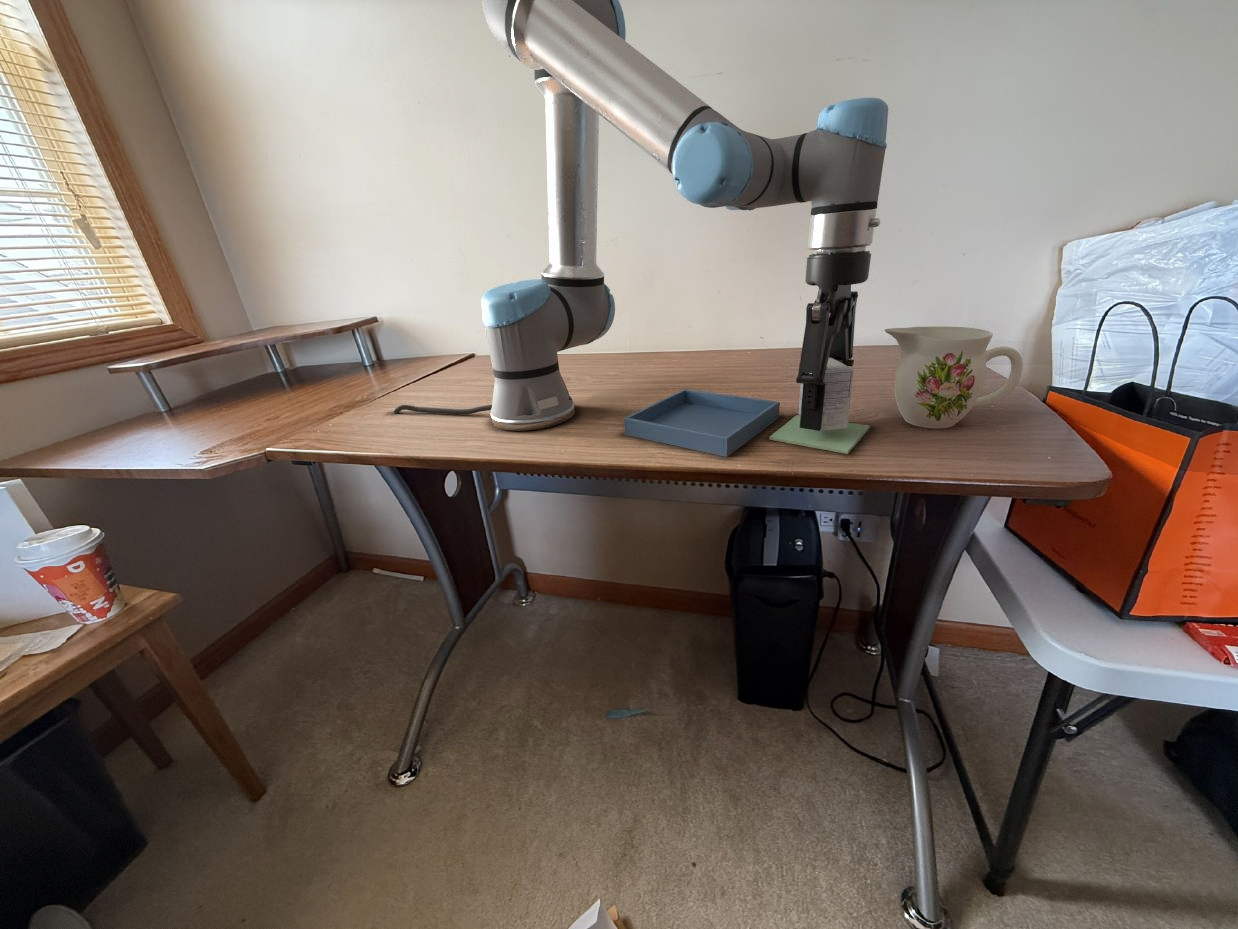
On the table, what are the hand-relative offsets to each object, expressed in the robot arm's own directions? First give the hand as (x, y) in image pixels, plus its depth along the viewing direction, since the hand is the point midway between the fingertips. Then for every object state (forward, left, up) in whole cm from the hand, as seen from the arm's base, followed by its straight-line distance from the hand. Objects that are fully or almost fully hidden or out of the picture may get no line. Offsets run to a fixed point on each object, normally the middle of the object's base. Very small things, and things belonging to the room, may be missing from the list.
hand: (821, 418), depth 70 cm
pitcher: (+13, +13, -3) cm, 19 cm away
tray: (-17, -5, -3) cm, 18 cm away
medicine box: (0, 0, -1) cm, 1 cm away
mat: (0, 0, -3) cm, 3 cm away
